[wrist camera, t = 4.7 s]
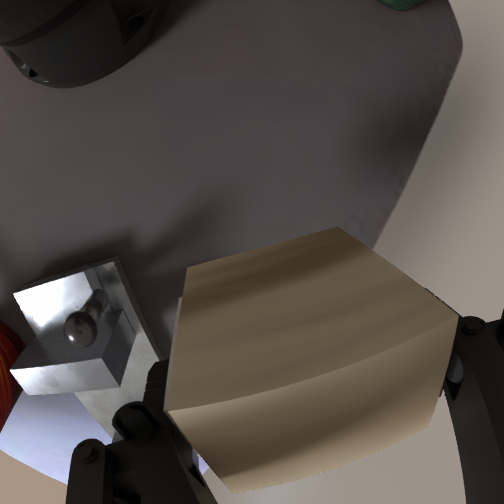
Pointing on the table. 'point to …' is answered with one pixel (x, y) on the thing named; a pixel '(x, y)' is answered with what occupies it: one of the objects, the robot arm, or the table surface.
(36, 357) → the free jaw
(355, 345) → the block
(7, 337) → the mug
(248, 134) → the table surface
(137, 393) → the vise bed
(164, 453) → the robot arm
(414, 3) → the coffee jar
